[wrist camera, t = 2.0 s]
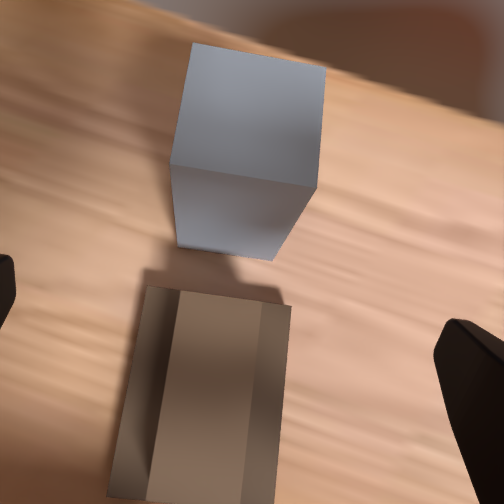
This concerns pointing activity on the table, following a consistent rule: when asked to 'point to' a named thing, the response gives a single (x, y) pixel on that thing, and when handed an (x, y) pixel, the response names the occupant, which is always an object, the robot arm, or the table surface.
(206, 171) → the slate post
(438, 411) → the table surface
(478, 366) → the robot arm
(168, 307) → the walnut ridge
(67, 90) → the table surface
